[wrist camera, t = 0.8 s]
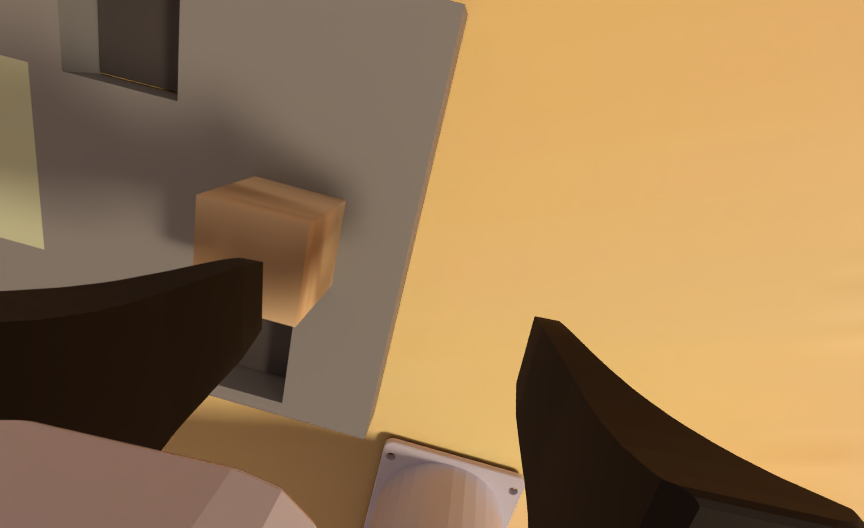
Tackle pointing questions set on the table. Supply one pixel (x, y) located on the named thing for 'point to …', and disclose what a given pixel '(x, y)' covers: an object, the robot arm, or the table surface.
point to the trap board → (228, 158)
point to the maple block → (273, 240)
